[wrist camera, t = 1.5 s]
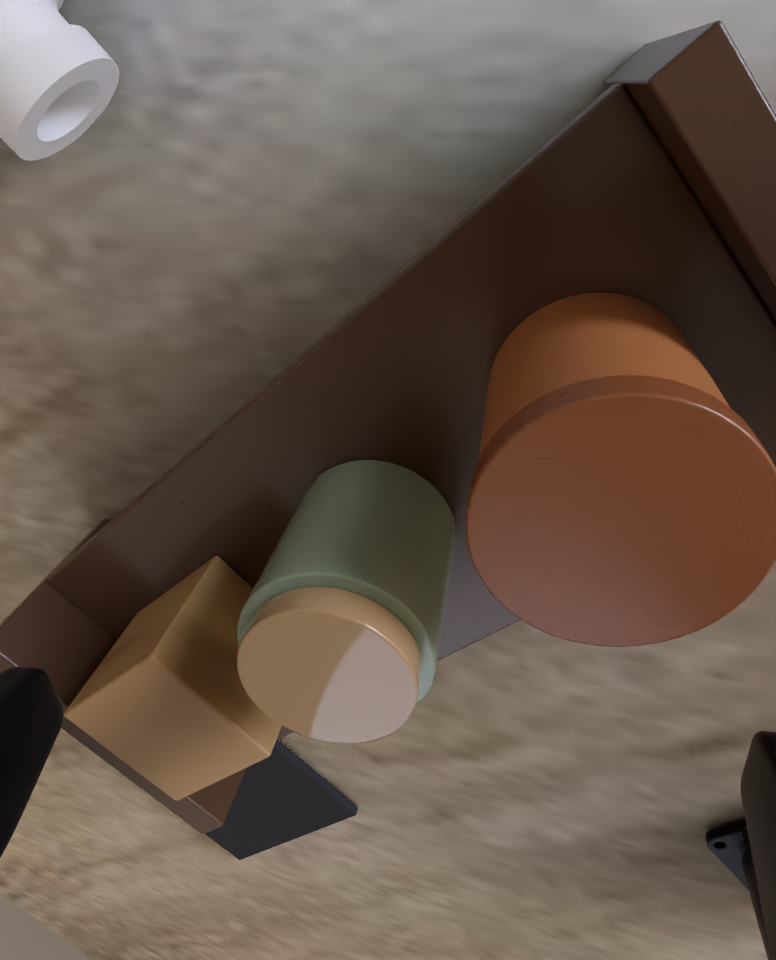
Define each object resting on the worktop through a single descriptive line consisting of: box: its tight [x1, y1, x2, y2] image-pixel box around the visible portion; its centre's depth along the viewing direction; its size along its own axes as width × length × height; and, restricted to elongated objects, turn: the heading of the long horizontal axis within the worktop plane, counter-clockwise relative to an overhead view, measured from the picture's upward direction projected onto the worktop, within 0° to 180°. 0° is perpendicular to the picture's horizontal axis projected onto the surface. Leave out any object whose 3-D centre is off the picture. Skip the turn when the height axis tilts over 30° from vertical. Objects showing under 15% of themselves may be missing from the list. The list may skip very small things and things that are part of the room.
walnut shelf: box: [0, 21, 776, 834], centre depth 20 cm, size 10×24×7 cm, turn 132°
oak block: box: [64, 556, 282, 801], centre depth 20 cm, size 4×4×4 cm
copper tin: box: [465, 292, 776, 647], centre depth 13 cm, size 5×5×6 cm
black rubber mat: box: [205, 740, 358, 860], centre depth 34 cm, size 9×9×1 cm
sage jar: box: [237, 460, 456, 744], centre depth 17 cm, size 5×5×6 cm
